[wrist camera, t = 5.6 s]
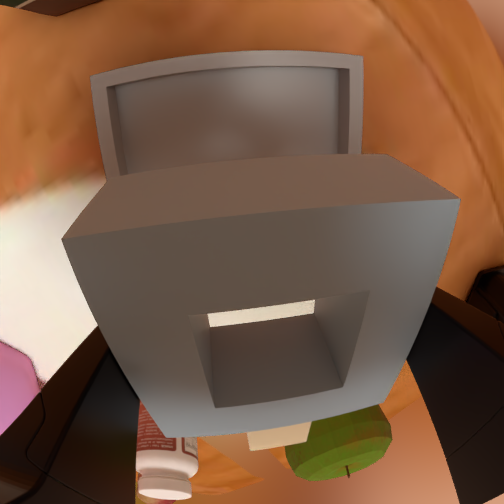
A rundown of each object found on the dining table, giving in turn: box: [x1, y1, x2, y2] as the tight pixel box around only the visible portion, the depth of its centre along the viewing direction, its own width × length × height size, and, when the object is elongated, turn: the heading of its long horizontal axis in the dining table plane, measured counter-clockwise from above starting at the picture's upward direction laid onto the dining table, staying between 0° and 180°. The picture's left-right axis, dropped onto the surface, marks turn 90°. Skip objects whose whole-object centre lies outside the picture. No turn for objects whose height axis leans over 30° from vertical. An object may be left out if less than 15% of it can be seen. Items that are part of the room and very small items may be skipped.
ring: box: [62, 154, 461, 451], centre depth 8 cm, size 9×7×3 cm
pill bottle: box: [136, 400, 198, 500], centre depth 24 cm, size 6×6×11 cm
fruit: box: [136, 473, 176, 504], centre depth 37 cm, size 8×8×8 cm
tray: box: [90, 50, 363, 181], centre depth 16 cm, size 14×14×2 cm
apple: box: [285, 404, 392, 481], centre depth 27 cm, size 11×11×11 cm
